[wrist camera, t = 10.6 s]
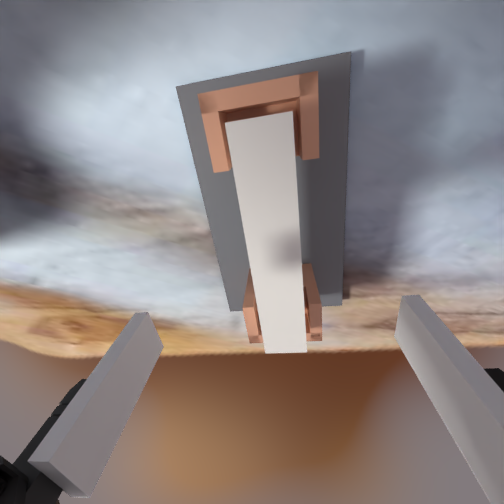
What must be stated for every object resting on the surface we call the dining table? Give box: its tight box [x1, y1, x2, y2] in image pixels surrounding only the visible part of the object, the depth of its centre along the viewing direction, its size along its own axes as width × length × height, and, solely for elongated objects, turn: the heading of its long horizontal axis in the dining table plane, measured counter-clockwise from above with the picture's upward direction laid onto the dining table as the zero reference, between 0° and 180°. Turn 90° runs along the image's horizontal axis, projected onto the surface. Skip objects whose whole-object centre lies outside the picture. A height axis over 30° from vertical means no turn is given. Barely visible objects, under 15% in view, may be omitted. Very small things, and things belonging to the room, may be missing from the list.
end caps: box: [176, 52, 351, 343], centre depth 25 cm, size 16×28×9 cm, turn 8°
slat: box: [225, 111, 307, 353], centre depth 21 cm, size 4×20×6 cm, turn 9°
